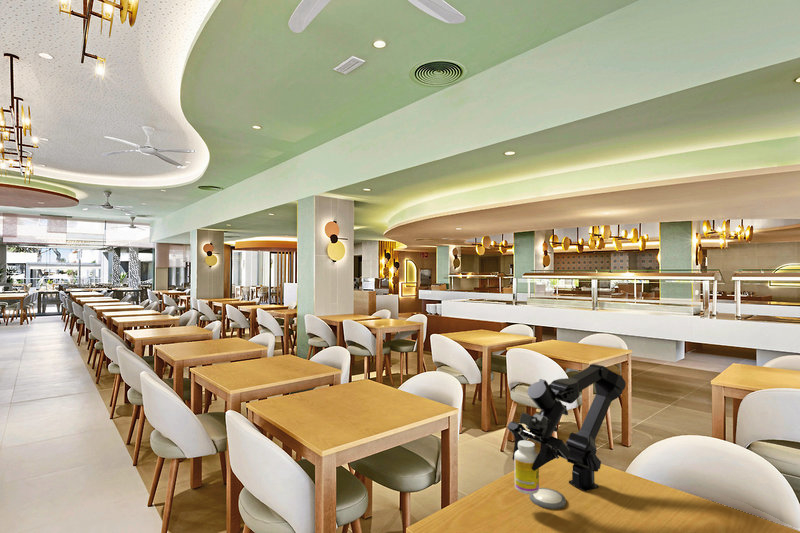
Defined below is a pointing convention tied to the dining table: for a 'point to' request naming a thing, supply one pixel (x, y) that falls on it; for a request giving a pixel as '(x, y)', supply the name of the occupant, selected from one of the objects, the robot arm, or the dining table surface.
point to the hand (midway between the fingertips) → (523, 464)
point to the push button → (548, 498)
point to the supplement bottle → (526, 468)
